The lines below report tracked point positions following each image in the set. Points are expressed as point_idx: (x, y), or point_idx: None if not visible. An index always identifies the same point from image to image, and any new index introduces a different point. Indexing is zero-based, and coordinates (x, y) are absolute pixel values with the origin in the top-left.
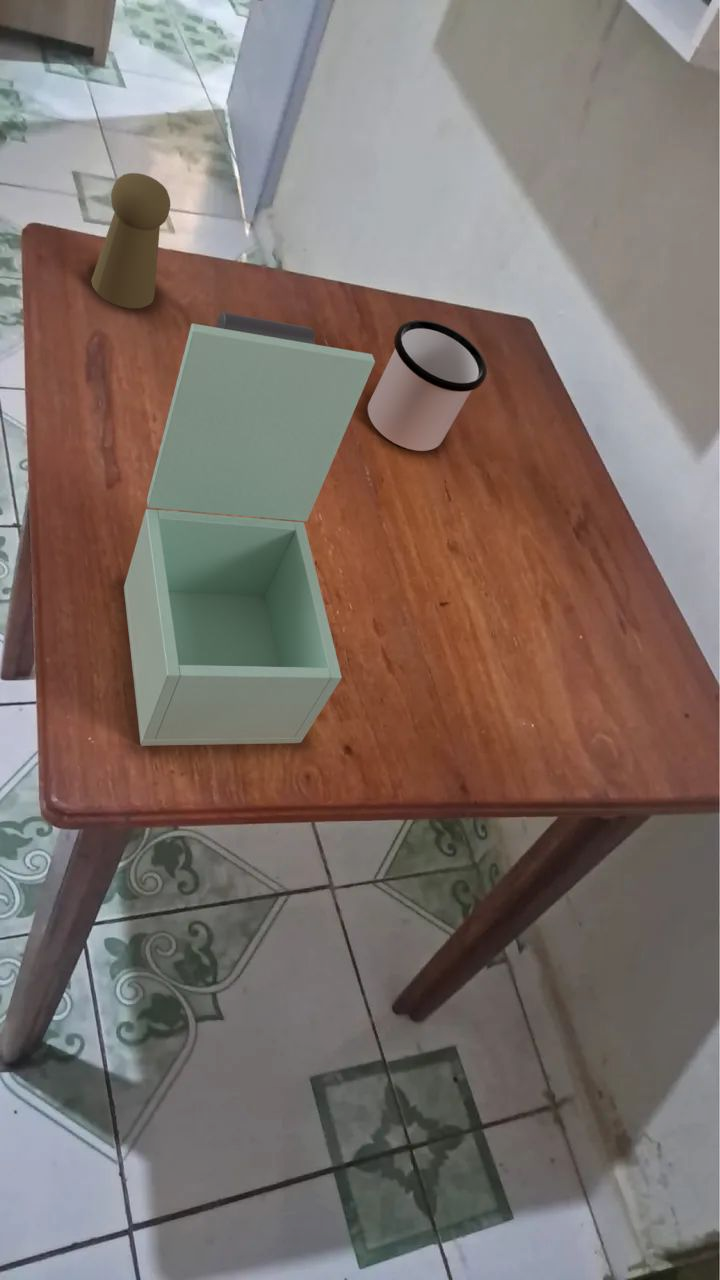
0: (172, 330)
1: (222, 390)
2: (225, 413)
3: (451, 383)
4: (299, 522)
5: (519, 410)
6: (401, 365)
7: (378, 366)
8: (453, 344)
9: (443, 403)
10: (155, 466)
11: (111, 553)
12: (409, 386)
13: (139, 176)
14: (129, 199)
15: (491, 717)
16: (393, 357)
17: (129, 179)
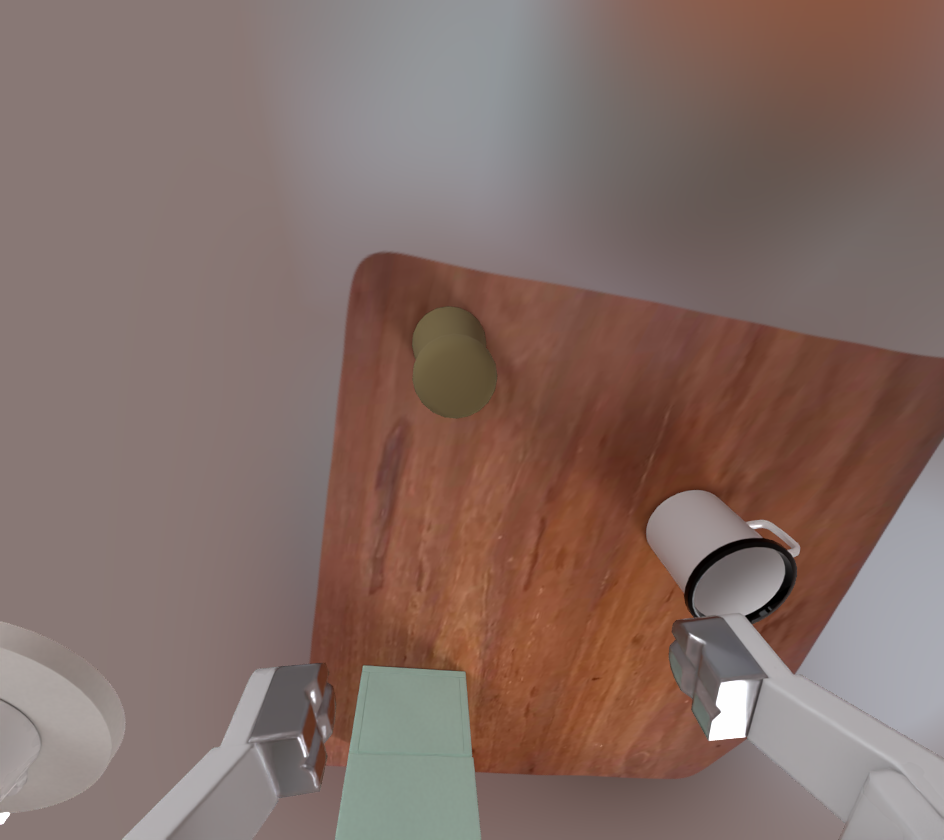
0: (486, 410)
1: None
2: None
3: None
4: (468, 754)
5: (836, 501)
6: (685, 581)
7: (709, 448)
8: (777, 553)
9: (706, 602)
10: (342, 793)
11: (360, 642)
12: (681, 588)
13: (453, 367)
14: (428, 406)
15: (576, 741)
16: (688, 559)
17: (434, 378)
